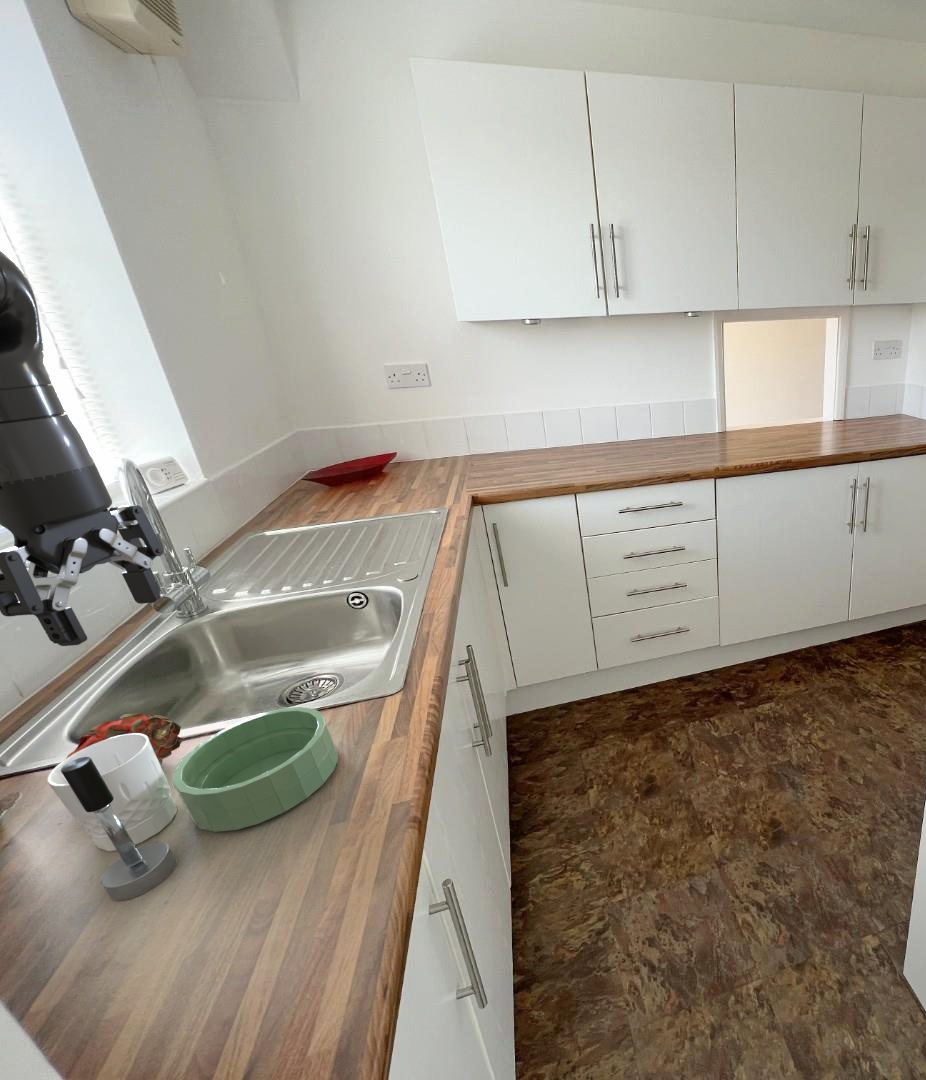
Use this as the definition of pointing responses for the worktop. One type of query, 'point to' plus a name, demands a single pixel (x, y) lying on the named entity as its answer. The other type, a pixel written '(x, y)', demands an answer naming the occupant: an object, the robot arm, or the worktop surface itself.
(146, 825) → the white cup
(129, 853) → the weighted base post
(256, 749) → the bowl
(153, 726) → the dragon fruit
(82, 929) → the worktop surface
